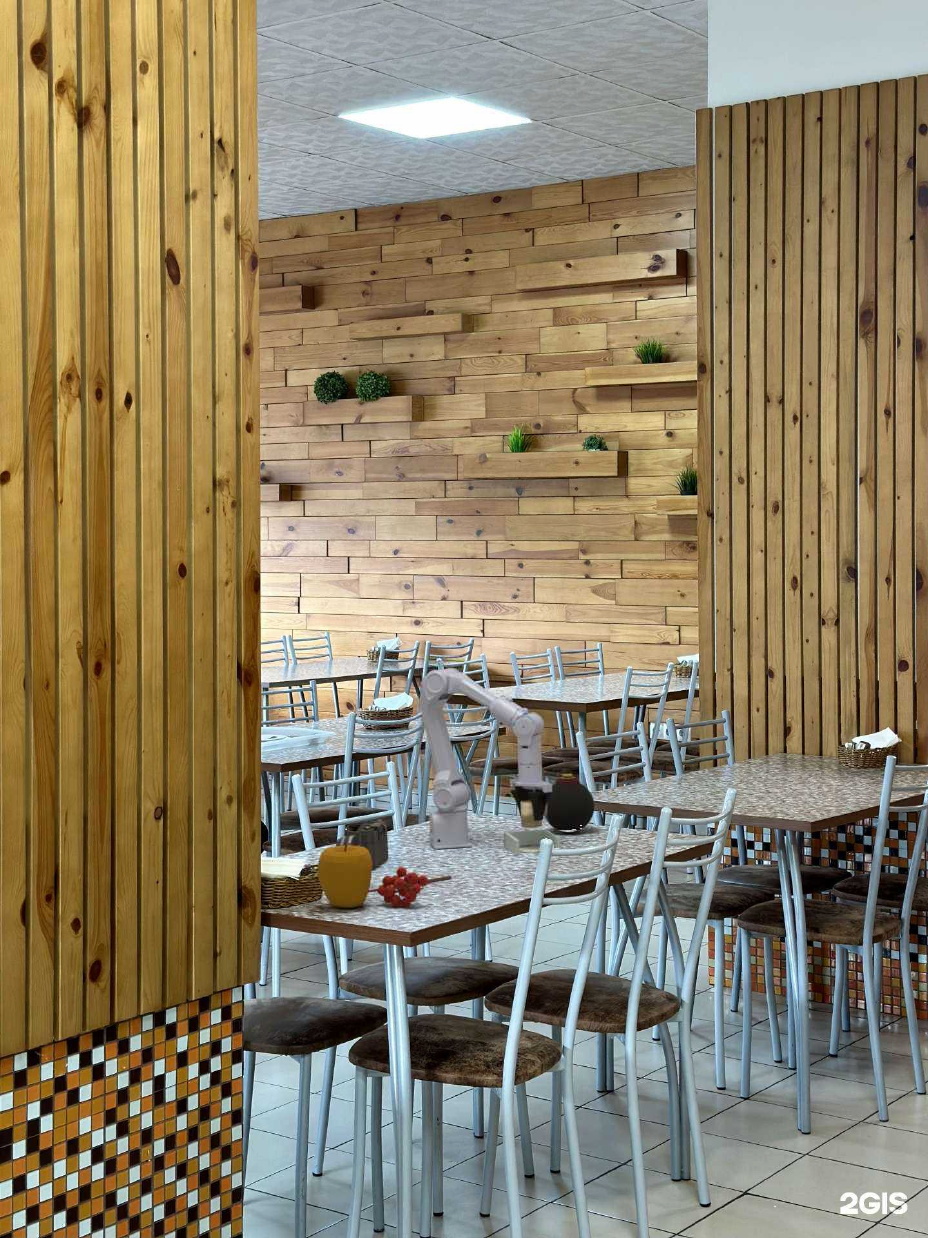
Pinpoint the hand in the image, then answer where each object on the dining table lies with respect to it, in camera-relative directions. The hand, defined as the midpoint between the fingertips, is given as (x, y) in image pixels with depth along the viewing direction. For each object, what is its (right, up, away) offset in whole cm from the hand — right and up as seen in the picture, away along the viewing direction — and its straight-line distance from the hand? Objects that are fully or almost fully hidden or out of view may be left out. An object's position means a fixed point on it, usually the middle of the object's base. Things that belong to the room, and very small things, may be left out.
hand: (531, 819), depth 352 cm
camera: (-40, -9, -11) cm, 43 cm away
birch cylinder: (0, -2, 0) cm, 2 cm away
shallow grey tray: (0, -8, +1) cm, 8 cm away
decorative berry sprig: (-27, -10, -45) cm, 53 cm away
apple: (-40, -10, -57) cm, 70 cm away
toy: (+11, -7, +24) cm, 27 cm away
